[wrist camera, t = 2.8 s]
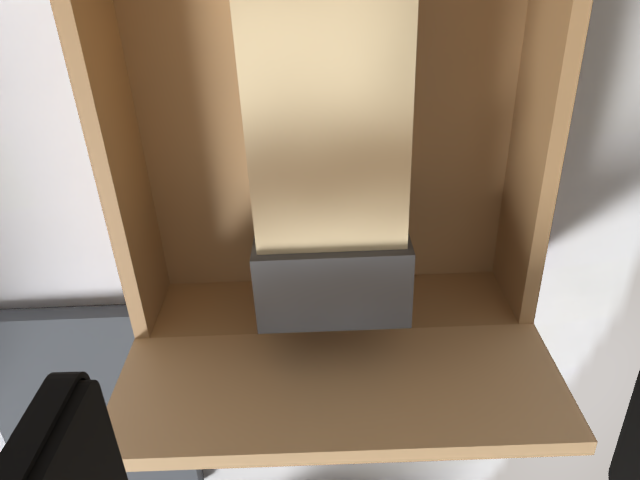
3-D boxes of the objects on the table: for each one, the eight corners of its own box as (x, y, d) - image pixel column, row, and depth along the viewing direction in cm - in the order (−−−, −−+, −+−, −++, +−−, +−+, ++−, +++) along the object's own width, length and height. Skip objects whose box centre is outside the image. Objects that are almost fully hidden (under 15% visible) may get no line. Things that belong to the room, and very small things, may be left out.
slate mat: (-37, 310, 28) (-48, 323, 27) (167, 303, 28) (162, 315, 27) (38, 485, 35) (30, 500, 34) (203, 479, 35) (201, 493, 34)
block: (241, -59, 20) (214, -47, 14) (397, -66, 20) (432, -57, 14) (269, 242, 26) (257, 334, 20) (389, 238, 26) (411, 328, 20)
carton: (72, -141, 19) (-146, -189, 10) (561, -162, 19) (793, -230, 10) (162, 287, 28) (88, 473, 18) (500, 274, 28) (593, 455, 18)
